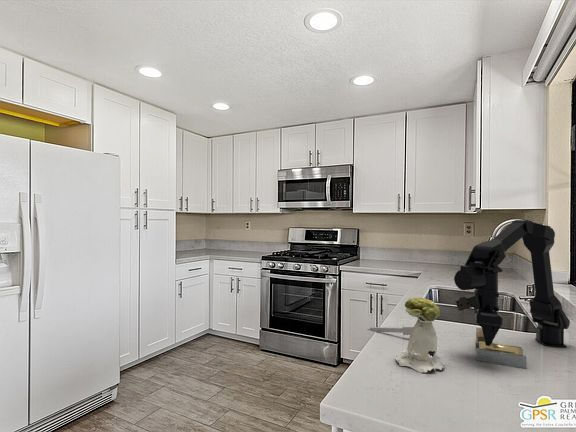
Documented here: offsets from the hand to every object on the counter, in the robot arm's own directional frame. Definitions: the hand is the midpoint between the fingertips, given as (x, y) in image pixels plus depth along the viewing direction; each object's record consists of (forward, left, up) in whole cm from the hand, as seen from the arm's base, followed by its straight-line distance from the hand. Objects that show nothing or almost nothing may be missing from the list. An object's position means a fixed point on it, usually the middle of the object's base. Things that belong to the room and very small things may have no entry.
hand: (486, 340), depth 101 cm
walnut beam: (-3, -11, -5) cm, 13 cm away
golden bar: (-3, +1, -4) cm, 5 cm away
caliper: (+25, -14, -6) cm, 29 cm away
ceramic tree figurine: (+20, +9, -5) cm, 23 cm away
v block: (-3, +1, -5) cm, 6 cm away
